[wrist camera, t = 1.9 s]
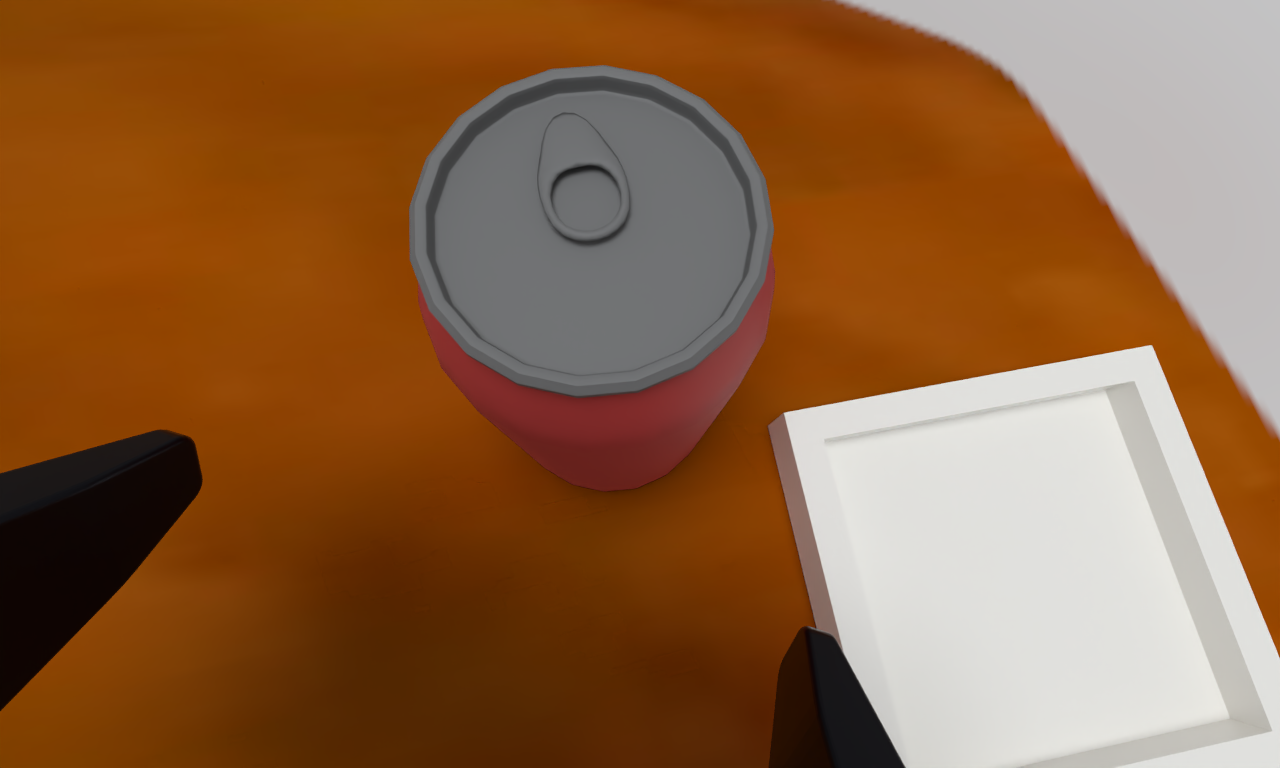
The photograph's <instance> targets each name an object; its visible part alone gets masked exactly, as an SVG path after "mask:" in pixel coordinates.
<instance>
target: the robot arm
mask: <svg viewBox="0 0 1280 768" xmlns="http://www.w3.org/2000/svg"><path fill="white" fill-rule="evenodd" d="M202 480H203V479H202V473H201V469H200V464H199V459H198V455H197V450H196V445H195V443H194V441H193V440H192V439H191V438H190V437H188V436H185V435H182V434H179V433H176V432H172V431H169V430H155V431H151V432H148V433H144V434H141V435H137V436H133V437H130V438H126V439H123V440H119V441H115V442H112V443H108V444H105V445H101V446H97V447H94V448H90V449H87V450H83V451H79V452H76V453H72V454H69V455H65V456H61V457H58V458H54V459H51V460H47V461H43V462H40V463H36V464H33V465H29V466H25V467H22V468H18V469H15V470H11V471H7V472H4V473H0V711H1V710H2V709H3V708H4V707H5V706H6V705H7V704H8V703H9V702H10V701H11V700H12V699H13V698H14V697H15V696H16V695H17V694H18V693H19V692H20V691H21V690H22V688H23V687H24V686H25V685H26V684H27V683H28V682H29V681H30V680H31V679H32V678H33V677H34V676H35V675H36V674H37V673H38V672H39V671H40V670H41V669H42V668H43V667H44V666H45V665H46V664H47V663H48V662H49V661H50V660H51V659H52V658H53V657H54V656H55V655H56V654H57V653H58V652H59V651H60V650H61V649H62V648H63V647H64V646H65V645H66V644H67V643H68V642H69V641H70V639H71V638H72V637H73V636H74V635H75V634H76V633H77V632H78V631H79V630H80V629H81V628H82V627H83V626H84V625H85V624H86V623H87V622H88V621H89V620H90V619H91V618H92V617H93V616H94V615H95V614H96V613H97V612H98V611H99V610H100V609H101V608H102V607H103V606H104V605H105V604H106V603H107V602H108V601H109V600H110V599H111V598H112V596H113V595H114V594H115V593H116V592H117V591H118V590H119V589H120V588H121V587H122V586H123V585H124V584H125V582H126V581H127V580H128V579H129V578H130V577H131V575H132V574H133V573H134V572H135V571H136V570H137V568H138V567H139V566H140V565H141V564H142V562H143V561H144V560H145V559H146V557H147V556H148V555H149V554H150V552H151V551H152V550H153V549H154V548H155V546H156V545H157V544H158V543H159V541H160V540H161V539H162V538H163V537H164V535H165V534H166V533H167V532H168V530H169V529H170V528H171V527H172V526H173V524H174V523H175V522H176V521H177V519H178V518H179V517H180V516H181V514H182V513H183V512H184V511H185V510H186V508H187V507H188V506H189V505H190V503H191V502H192V501H193V500H194V499H195V497H196V496H197V494H198V493H199V491H200V489H201V486H202ZM769 768H906V767H905V765H904V763H903V762H902V760H901V758H900V756H899V754H898V752H897V750H896V749H895V747H894V745H893V743H892V741H891V739H890V738H889V736H888V734H887V732H886V730H885V728H884V726H883V725H882V723H881V721H880V719H879V717H878V715H877V714H876V712H875V710H874V708H873V706H872V704H871V703H870V701H869V699H868V697H867V695H866V693H865V691H864V690H863V688H862V686H861V684H860V682H859V680H858V679H857V677H856V675H855V673H854V671H853V669H852V667H851V666H850V664H849V662H848V660H847V658H846V656H845V655H844V653H843V651H842V649H841V647H840V645H839V643H838V642H837V640H836V638H835V637H834V636H833V635H832V634H830V633H828V632H825V631H822V630H819V629H816V628H812V627H809V626H804V627H802V628H801V629H800V630H799V632H798V633H797V635H796V637H795V639H794V640H793V642H792V644H791V646H790V647H789V649H788V651H787V653H786V654H785V656H784V658H783V660H782V663H781V665H780V669H779V674H778V682H777V692H776V702H775V712H774V722H773V732H772V741H771V751H770V761H769Z"/></svg>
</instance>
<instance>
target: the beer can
mask: <svg viewBox="0 0 1280 768" xmlns="http://www.w3.org/2000/svg"><path fill="white" fill-rule="evenodd" d="M409 213H410V261H411V264H412V267H413V269H414V272H415V274H416V277H417V280H418V302H419V306H420V309H421V313H422V317H423V320H424V322H425V325H426V328H427V330H428V333H429V336H430V338H431V341H432V344H433V346H434V349H435V352H436V354H437V357H438V360H439V362H440V365H441V368H442V369H443V370H444V372H445V373H446V374H447V375H448V376H449V377H450V379H451V380H452V381H453V382H454V383H455V385H456V386H457V387H458V388H459V389H460V390H461V392H462V393H463V394H464V395H465V396H466V398H467V399H468V400H469V401H470V402H471V403H472V405H473V406H474V407H475V408H476V409H477V411H479V412H480V413H481V414H482V415H483V416H484V417H486V418H487V419H488V420H489V421H490V422H491V423H493V424H494V425H495V426H496V427H497V428H498V429H500V430H501V431H502V432H503V433H504V434H505V435H507V436H508V437H509V438H510V439H511V440H512V441H514V442H515V443H516V444H517V445H518V446H519V447H521V448H522V449H523V450H524V451H525V452H527V453H528V454H529V455H530V456H531V457H532V458H534V459H535V460H536V461H537V462H538V463H539V464H541V465H542V466H543V467H544V468H545V469H547V470H549V471H550V472H552V473H554V474H555V475H557V476H559V477H560V478H562V479H564V480H565V481H567V482H569V483H570V484H572V485H576V486H581V487H585V488H590V489H594V490H599V491H603V492H605V491H615V490H625V489H635V488H638V487H640V486H643V485H645V484H647V483H650V482H652V481H654V480H656V479H659V478H661V477H663V476H665V475H667V474H668V473H669V472H670V471H671V470H672V469H673V468H674V467H675V466H677V465H678V464H679V463H680V462H681V461H682V460H683V459H684V458H685V457H687V456H688V455H689V454H690V452H691V451H692V450H693V448H694V447H695V446H696V444H697V443H698V441H699V440H700V439H701V437H702V436H703V435H704V433H705V432H706V430H707V429H708V428H709V426H710V425H711V424H712V422H713V421H714V420H715V418H716V417H717V415H718V414H719V413H720V411H721V410H722V409H723V407H724V406H725V405H726V403H727V402H728V400H729V399H730V398H731V396H732V395H733V394H734V392H735V391H736V389H737V388H738V387H739V385H740V383H741V382H742V380H743V378H744V376H745V374H746V373H747V371H748V369H749V367H750V365H751V364H752V362H753V360H754V358H755V357H756V355H757V353H758V351H759V349H760V348H761V346H762V344H763V342H764V340H765V338H766V332H767V326H768V321H769V315H770V309H771V303H772V298H773V292H774V281H775V269H774V263H773V257H772V251H771V244H772V238H773V233H774V227H773V221H772V215H771V209H770V203H769V198H768V192H767V186H766V180H765V178H764V176H763V174H762V172H761V170H760V169H759V167H758V165H757V163H756V161H755V159H754V158H753V156H752V154H751V152H750V150H749V148H748V147H747V145H746V143H745V141H744V139H743V138H742V136H741V134H740V133H739V132H738V131H736V130H735V129H734V128H733V127H732V126H731V125H730V124H729V123H728V122H727V121H726V120H725V119H724V118H723V117H722V116H721V115H720V114H719V113H718V112H716V111H715V110H714V109H713V108H712V107H711V106H710V105H709V104H708V103H707V102H706V101H705V100H704V99H702V98H700V97H698V96H696V95H694V94H692V93H690V92H688V91H686V90H684V89H682V88H680V87H678V86H676V85H674V84H672V83H670V82H668V81H666V80H664V79H663V78H661V77H659V76H656V75H651V74H646V73H641V72H636V71H631V70H626V69H621V68H616V67H611V66H606V65H603V66H589V67H574V68H560V69H550V70H548V71H545V72H542V73H539V74H536V75H533V76H530V77H528V78H525V79H522V80H519V81H516V82H513V83H510V84H508V85H505V86H502V87H500V88H499V89H497V90H496V91H495V92H493V93H492V94H490V95H489V96H487V97H486V98H485V99H483V100H482V101H480V102H479V103H478V104H476V105H475V106H473V107H472V108H471V109H469V110H468V111H466V112H465V113H463V114H462V115H461V116H459V117H458V118H457V119H456V121H455V122H454V123H453V125H452V126H451V127H450V129H449V130H448V131H447V132H446V134H445V135H444V136H443V138H442V139H441V140H440V142H439V143H438V144H437V145H436V147H435V148H434V149H433V151H432V152H431V153H430V154H429V156H428V157H427V158H426V161H425V164H424V167H423V170H422V173H421V176H420V178H419V181H418V184H417V187H416V190H415V193H414V196H413V199H412V202H411V204H410V207H409Z"/></svg>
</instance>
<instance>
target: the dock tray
mask: <svg viewBox="0 0 1280 768" xmlns="http://www.w3.org/2000/svg"><path fill="white" fill-rule="evenodd" d="M768 429H769V433H770V437H771V441H772V446H773V450H774V454H775V458H776V462H777V466H778V470H779V475H780V479H781V483H782V487H783V491H784V495H785V499H786V503H787V508H788V512H789V516H790V520H791V524H792V528H793V532H794V537H795V541H796V545H797V549H798V553H799V557H800V561H801V566H802V570H803V574H804V578H805V582H806V586H807V590H808V594H809V599H810V603H811V607H812V611H813V615H814V619H815V623H816V628H817V629H819V630H822V631H825V632H828V633H830V634H832V635H833V636H834V637H835V638H836V640H837V642H838V643H839V645H840V647H841V649H842V651H843V653H844V655H845V656H846V658H847V660H848V662H849V664H850V666H851V667H852V669H853V671H854V673H855V675H856V677H857V679H858V680H859V682H860V684H861V686H862V688H863V690H864V691H865V693H866V695H867V697H868V699H869V701H870V703H871V704H872V706H873V708H874V710H875V712H876V714H877V715H878V717H879V719H880V721H881V723H882V725H883V726H884V728H885V730H886V732H887V734H888V736H889V738H890V739H891V741H892V743H893V745H894V747H895V749H896V750H897V752H898V754H899V756H900V758H901V760H902V762H903V763H904V765H905V767H906V768H1280V658H1279V656H1278V653H1277V651H1276V648H1275V646H1274V643H1273V641H1272V638H1271V636H1270V634H1269V631H1268V629H1267V626H1266V624H1265V621H1264V619H1263V616H1262V614H1261V611H1260V609H1259V607H1258V604H1257V602H1256V599H1255V597H1254V594H1253V592H1252V589H1251V587H1250V584H1249V582H1248V580H1247V577H1246V575H1245V572H1244V570H1243V567H1242V565H1241V562H1240V560H1239V558H1238V555H1237V553H1236V550H1235V548H1234V545H1233V543H1232V540H1231V538H1230V535H1229V533H1228V531H1227V528H1226V526H1225V523H1224V521H1223V518H1222V516H1221V513H1220V511H1219V508H1218V506H1217V504H1216V501H1215V499H1214V496H1213V494H1212V491H1211V489H1210V486H1209V484H1208V481H1207V479H1206V477H1205V474H1204V472H1203V469H1202V467H1201V464H1200V462H1199V459H1198V457H1197V454H1196V452H1195V450H1194V447H1193V445H1192V442H1191V440H1190V437H1189V435H1188V432H1187V430H1186V427H1185V425H1184V423H1183V420H1182V418H1181V415H1180V413H1179V410H1178V408H1177V405H1176V403H1175V400H1174V398H1173V396H1172V393H1171V391H1170V388H1169V386H1168V383H1167V381H1166V378H1165V376H1164V374H1163V371H1162V369H1161V366H1160V364H1159V361H1158V359H1157V356H1156V354H1155V351H1154V349H1153V347H1152V345H1150V346H1144V347H1139V348H1134V349H1128V350H1123V351H1117V352H1112V353H1106V354H1101V355H1096V356H1090V357H1085V358H1079V359H1074V360H1068V361H1063V362H1057V363H1052V364H1047V365H1041V366H1036V367H1030V368H1025V369H1019V370H1014V371H1009V372H1003V373H998V374H992V375H987V376H981V377H976V378H970V379H965V380H960V381H954V382H949V383H943V384H938V385H932V386H927V387H922V388H916V389H911V390H905V391H900V392H894V393H889V394H883V395H878V396H873V397H867V398H862V399H856V400H851V401H845V402H840V403H835V404H829V405H824V406H818V407H813V408H807V409H802V410H796V411H791V412H786V413H783V414H782V415H780V416H779V417H778V418H777V419H776V420H774V421H773V422H772V423H771V424H769V425H768Z"/></svg>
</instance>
